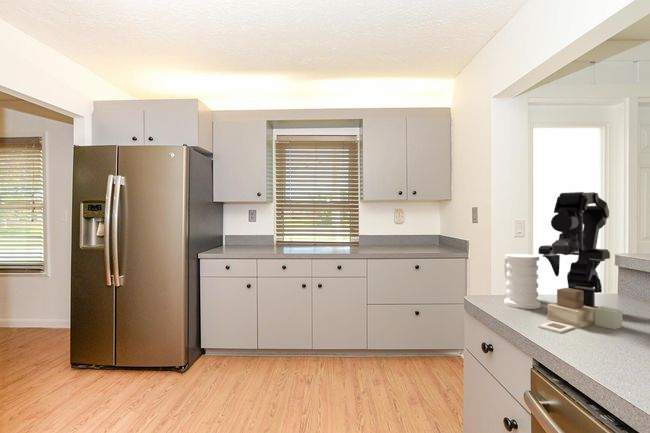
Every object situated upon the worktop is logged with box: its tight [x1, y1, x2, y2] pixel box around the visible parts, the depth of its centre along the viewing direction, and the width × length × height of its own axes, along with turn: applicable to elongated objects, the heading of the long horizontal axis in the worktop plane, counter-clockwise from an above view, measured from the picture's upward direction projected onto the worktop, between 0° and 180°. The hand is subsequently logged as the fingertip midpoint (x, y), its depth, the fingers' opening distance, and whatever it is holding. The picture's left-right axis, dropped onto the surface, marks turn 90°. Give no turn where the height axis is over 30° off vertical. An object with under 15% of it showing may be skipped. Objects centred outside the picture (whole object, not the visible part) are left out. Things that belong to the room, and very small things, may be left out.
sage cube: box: [594, 305, 623, 330], centre depth 104 cm, size 5×5×5 cm
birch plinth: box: [546, 302, 595, 329], centre depth 109 cm, size 9×9×5 cm
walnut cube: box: [556, 287, 584, 309], centre depth 109 cm, size 5×5×5 cm
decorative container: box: [504, 253, 542, 310], centre depth 129 cm, size 12×12×18 cm
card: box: [538, 320, 576, 334], centre depth 103 cm, size 8×6×1 cm
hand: (572, 278), depth 115 cm, fingers open, 9 cm apart
